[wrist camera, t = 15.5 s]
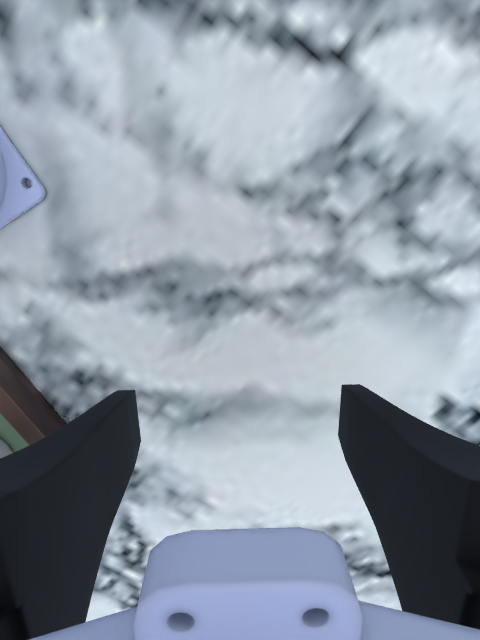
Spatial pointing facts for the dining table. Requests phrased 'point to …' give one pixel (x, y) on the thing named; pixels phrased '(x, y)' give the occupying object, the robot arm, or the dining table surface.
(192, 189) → the dining table surface
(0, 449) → the photo printer
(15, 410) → the tray
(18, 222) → the dining table surface
